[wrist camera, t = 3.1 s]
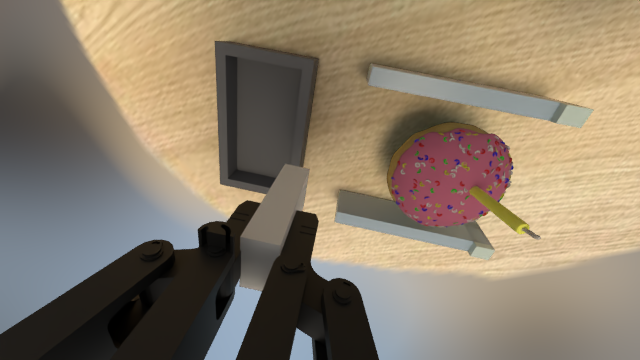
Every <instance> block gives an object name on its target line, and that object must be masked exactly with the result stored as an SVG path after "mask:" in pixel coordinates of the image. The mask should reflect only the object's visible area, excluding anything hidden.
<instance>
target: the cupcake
mask: <svg viewBox="0 0 640 360" xmlns="http://www.w3.org/2000/svg"><path fill="white" fill-rule="evenodd" d="M509 149H510V147H509V146H507V145H505V143H504V142H503V141H502V140H501V139H500V138H499V137H498V136H497V135H495V134H492V133H491V134H488V133H486V132H485V131H483V130H481V129H480V128H478V127H476V126H473V125H468V124H461V123H455V122H447V123H443V124H439V125H436V126H433V127H431V128H428V129H426V130H424V131H420V132H417V133H415V134H413V135H412V136H411V137H410V138H409V139H408V140H407V141H406V142H405V143H404V144H403V145H402V146H401V147H400V148H399V149H398V150H397V151H396V152H395V153H394V155H393V157H392V159H391V163H390V167H389V170H388V174H387V183H388V188H389V191H390V194H391V196H392V198H393V200H394V201H395V202H396V204H397V205H398V206H399V208H400V209H401V210H402V211H403V213H405V214H406V215H407V216H408V217H410V218H411V219H413V220H415V221H416V222H418V223H420V224H422V225H425V226H432V227H434V226H437V227H440V228H441V226H442V227H444V228H446V227H447V226H454V225H456V226H457V227H459V226H460V225H463V224H465V223H468V222H472V221H473V222H475V220H478V218H480V217H481V216H485V215H486V214H488V211H491V212H493V213H494V214H495V215H496V216H497V217H499V218H500V219H501V220H502V221H503V222H505V223H506V224H507V225H508V226H510V227H511V228H512V229H513V230H514V231H516V232H517V233H518V234H524V233H527V234H529V235H530V236H531V237H533V238H535V239H538V240H539V239H541V237H540V236H538V235H536V234H534V233H533V232H532V231H530V230H529V225H528V224H527V223H525V222H524V221H523V220H521V219H520V218H519V217H517V216H516V215H515V214H513V213H512V212H511V211H509V210H508V209H507V208H505V207H504V206H503V205H501V204H500V203H499V201H500V200H501V199H502V197H503V196H504V193H505V192H506V191H505V190H506V189H507V188H508V187H509V186H510V183H511V181H509V180H510V178H511V175H512V173H513V172H512V171H511V170H512V169H513V162H511V161H512V158H510V157H511V156H510V154H509V151H508V150H509ZM509 182H510V183H509ZM458 225H459V226H458ZM434 228H435V227H434Z"/></svg>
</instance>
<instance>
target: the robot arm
mask: <svg viewBox="0 0 640 360" xmlns="http://www.w3.org/2000/svg"><path fill="white" fill-rule="evenodd" d="M309 170H310V169H308V168H303V167H298V166H293V165H288V164H285V165H284V166H283V168H282V170H281V171H280V173H279V175H278V176H277V178H276V179H275V181H274V183H273V184H272V186H271V188H270V189H269V191H268V192H267V194H266V196H265V197H264V199H263V201H262V202H261V203H257V202H253V201H248V200H247V201H245V202H244V203H242V204H240V205H239V206H238V207H237V208H236V210H235V211H234V213H233V214H232V215H231V217H230V219H228V221H227V222H219V221H215V222H209V223H207V224H204V225H202V226H201V227H200V228H199V229H198V238H199V247H198V248H195V249H182V250H174V248H173V245H172V244H171V243H170V242H169V241H165V240H152V241H148V242H145V243H143V244H141V245H139V246H137V247H135V248H134V249H132V250H131V251H130V252H128V253H127V254H125V255H123V256H122V257H120V258H119V259H117V260H115V261H114V262H112V263H111V264H109V265H108V266H106V267H104V268H103V269H101V270H100V271H98V272H97V273H95V274H93V275H92V276H90V277H89V278H87V279H86V280H84V281H83V282H81V283H79V284H78V285H76V286H75V287H73V288H72V289H70V290H69V291H67V292H66V293H64V294H62V295H61V296H59V297H58V298H57V299H55V300H53V301H51V302H50V303H48V304H47V305H45V306H44V307H42V308H41V309H39V310H38V311H36V312H34V313H33V314H31V315H30V316H28V317H27V318H25V319H23V320H22V321H20V322H19V323H17V324H16V325H14V326H13V327H11V328H9V329H8V330H6V331H5V332H3V333H2V334H0V360H204V358H205V356H206V354H207V352H208V350H209V348H210V346H211V344H212V342H213V340H214V338H215V336H216V334H217V332H218V330H219V328H220V326H221V323H222V321H223V319H224V317H225V315H226V313H227V311H228V309H229V307H230V305H231V303H232V301H233V299H234V295H235V286H236V284H237V282H238V281H239V279H240V287H245V288H249V289H254V290H258V291H262V293H261V296H260V298H259V301H258V304H257V306H256V309H255V311H254V314H253V316H252V319H251V322H250V324H249V327H248V329H247V332H246V335H245V337H244V340H243V342H242V345H241V348H240V350H239V353H238V355H237V358H236V360H289V359H290V355H291V350H292V345H293V341H294V336H295V332H296V328H298V329H299V330H301V331H302V332H304V333H305V334H307V335H308V336H310V337H311V338H312V347H313V360H379V358H378V354H377V350H376V347H375V343H374V340H373V336H372V333H371V329H370V326H369V322H368V318H367V315H366V312H365V308H364V304H363V301H362V297H361V294H360V292H359V290H358V288H357V287H356V286H355V285H354V284H353V283H352V282H350V281H348V280H346V279H341V278H336V279H332V280H331V281H327V280H325V279H323V278H322V277H320V276H319V275H317V273H316V272H315V271H314V270H313V268H312V266H311V256H312V251H313V246H314V242H315V237H316V232H317V227H318V222H319V221H318V218H317V216H316V214H312V213H308V212H303V211H302V209H303V206H304V200H305V194H306V188H307V182H308V176H309Z"/></svg>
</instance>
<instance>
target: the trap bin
mask: <svg viewBox="0 0 640 360" xmlns="http://www.w3.org/2000/svg"><path fill="white" fill-rule="evenodd" d="M215 57H216V84H217V110H218V137H219V164H220V184H222V185H226V186H231V187H236V188H240V189H245V190H249V191H254V192H259V193H263V194H267V192H268V191H269V189H270V188H271V186H272V184H273V183H274V181H275V179H276V178H277V176H278V175H279V173H280V171H281V170H282V168H283V166H284V165H285V164H288V165H293V166H298V167H303V163H304V156H305V149H306V143H307V136H308V129H309V122H310V115H311V108H312V102H313V95H314V88H315V81H316V74H317V67H318V61H319V59H318V58H312V57H307V56H302V55H297V54H292V53H287V52H281V51H276V50H271V49H266V48H261V47H255V46H250V45H245V44H240V43H235V42H228V41H215Z"/></svg>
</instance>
